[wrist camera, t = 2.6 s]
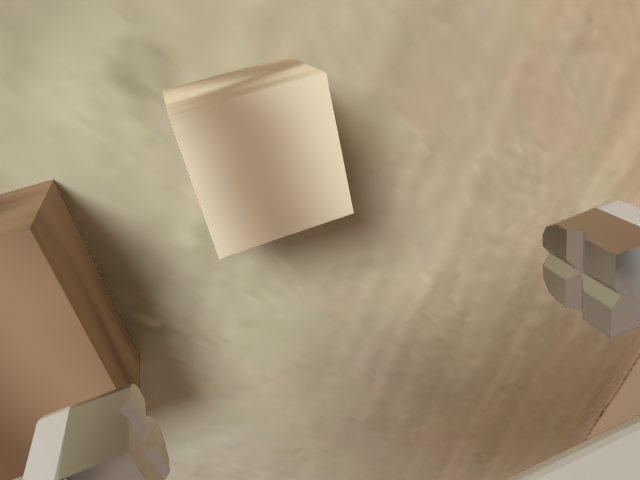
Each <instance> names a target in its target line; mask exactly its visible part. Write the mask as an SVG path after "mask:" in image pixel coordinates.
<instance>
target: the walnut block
mask: <svg viewBox="0 0 640 480" xmlns="http://www.w3.org/2000/svg"><path fill="white" fill-rule="evenodd" d="M132 383H133V384H135V385H136V386H138V388H139V390H140V355H139V353H138V351H137V349H136V347H135V345H134V343H133V341H132V339H131V337H130V335H129V333H128V331H127V329H126V327H125V324H124V322H123V320H122V318H121V316H120V314H119V312H118V310H117V308H116V306H115V304H114V302H113V300H112V298H111V296H110V294H109V292H108V290H107V288H106V286H105V284H104V282H103V279H102V277H101V275H100V273H99V271H98V269H97V267H96V265H95V263H94V261H93V259H92V257H91V255H90V253H89V251H88V249H87V247H86V245H85V243H84V241H83V239H82V237H81V234H80V232H79V230H78V228H77V226H76V224H75V222H74V220H73V218H72V216H71V214H70V212H69V210H68V208H67V206H66V204H65V202H64V200H63V198H62V196H61V194H60V191H59V189H58V187H57V185H56V183H55V181H54V180H50V181H47V182H43V183H40V184H36V185H32V186H29V187H25V188H22V189H18V190H15V191H11V192H8V193H4V194H1V195H0V480H12V479H15V478H18V477H20V476H23V475H24V471H25V467H26V463H27V459H28V455H29V451H30V447H31V443H32V440H33V436H34V432H35V428H36V424H37V422H38V420H39V419H40V418H41V417H42V416H44V415H47V414H49V413H52V412H55V411H57V410H60V409H63V408H65V407H68V406H73V405H74V404H76V403H79V402H82V401H85V400H87V399H90V398H93V397H96V396H98V395H101V394H104V393H107V392H110V391H112V390H115V389H118V388H121V387H124V386H126V385H129V384H132Z"/></svg>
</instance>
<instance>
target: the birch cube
mask: <svg viewBox="0 0 640 480" xmlns="http://www.w3.org/2000/svg"><path fill="white" fill-rule="evenodd" d="M163 95H164V99H165V104H166V108H167V113H168V117H169V120H170V123H171V126H172V128H173V131H174V134H175V137H176V140H177V142H178V145H179V148H180V151H181V153H182V156H183V159H184V162H185V165H186V167H187V170H188V173H189V176H190V178H191V181H192V184H193V187H194V190H195V192H196V195H197V198H198V201H199V203H200V206H201V209H202V212H203V215H204V217H205V220H206V223H207V226H208V228H209V231H210V234H211V237H212V240H213V242H214V245H215V248H216V251H217V253H218V256H219V259H220V258H223V257H226V256H229V255H232V254H235V253H238V252H241V251H244V250H247V249H250V248H253V247H256V246H259V245H262V244H265V243H268V242H270V241H273V240H276V239H279V238H282V237H285V236H288V235H291V234H294V233H297V232H300V231H303V230H306V229H309V228H312V227H315V226H318V225H320V224H323V223H326V222H329V221H332V220H335V219H338V218H341V217H344V216H347V215H350V214H353V213H354V212H353V207H352V202H351V197H350V191H349V186H348V181H347V176H346V171H345V166H344V161H343V156H342V151H341V146H340V141H339V136H338V131H337V126H336V121H335V116H334V111H333V105H332V100H331V95H330V90H329V85H328V80H327V75H326V72H324V71H321V70H319V69H316V68H314V67H312V66H309V65H307V64H304V63H302V62H299V61H297V60H294V59H292V58H290V57H284V58H280V59H276V60H273V61H269V62H266V63H262V64H258V65H255V66H251V67H247V68H244V69H240V70H236V71H233V72H229V73H226V74H222V75H218V76H215V77H211V78H207V79H204V80H200V81H196V82H193V83H189V84H186V85H182V86H178V87H175V88H171V89H167V90H164V91H163Z"/></svg>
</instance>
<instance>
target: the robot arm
mask: <svg viewBox="0 0 640 480" xmlns="http://www.w3.org/2000/svg"><path fill="white" fill-rule="evenodd" d="M543 247H544V248H545V249H546V250H547V251H548V252H549V254H548V256H547V258H546V260H545V262H544V264H543V277H544V281H545V284H546V286H547V288H548V290H549V292H550V293H551V294H552V296H553V297H554V298H555V299H556V300H557V301H558V302H560V303H561V304H562V305H564V306H565V307H569V308H573V309H578V310H581V313H582V317H583V319H584V320H585V321H587V322H588V323H590V324H591V325H593V326H594V327H595V328H597V329H598V330H600V331H601V332H603V333H604V334H606V335H607V336H609V337H610V338H611V337H614V336H616V335H619V334H621V333H624V332H626V331H629V330H631V329H634V328H636V327H639V326H640V208H638V207H635V206H633V205H630V204H628V203H625V202H622V201H620V200H610V201H608V202H605V203H603V204H601V205H598V206H596V207H593V208H591V209H589V210H588V211H586V212H583V213H580V214H578V215H575V216H573V217H570V218H568V219H565V220H562V221H560V222H557V223H555V224H552V225H550V226H547V227H546V228H545V231H544V233H543ZM169 473H170V468H169V457H168V453H167V448H166V444H165V440H164V438H163V435H162V432H161V430H160V428H159V426H158V424H157V422H156V420H155V418H152V417H150V416H147V415H146V404H145V399H144V397H143V395H142V393H141V391H140V390H139V388H138V386H136V385H135V384H133V383H132V384H129V385H126V386H124V387H121V388H118V389H115V390H112V391H110V392H107V393H104V394H101V395H98V396H96V397H93V398H90V399H87V400H85V401H82V402H79V403H76V404H74V405H73V406H68V407H65V408H63V409H60V410H57V411H55V412H52V413H49V414H47V415H44V416H42V417H41V418H40V419H39V420H38V422H37V424H36V428H35V432H34V436H33V440H32V443H31V447H30V451H29V455H28V459H27V463H26V467H25V471H24V475H23V479H22V480H166V478H167V476H168V474H169ZM504 480H640V415H638V416H636V417H634V418H632V419H630V420H627V421H625V422H623V423H621V424H619V425H617V426H615V427H613V428H611V429H609V430H607V431H605V432H602V433H601V434H598V435H596V436H594V437H592V438H590V439H588V440H586V441H584V442H581V443H579V444H577V445H575V446H573V447H571V448H569V449H567V450H565V451H563V452H561V453H558V454H556V455H554V456H552V457H550V458H548V459H546V460H544V461H542V462H540V463H538V464H535V465H533V466H531V467H529V468H527V469H525V470H523V471H521V472H519V473H517V474H515V475H512V476H510V477H508V478H506V479H504Z"/></svg>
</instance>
